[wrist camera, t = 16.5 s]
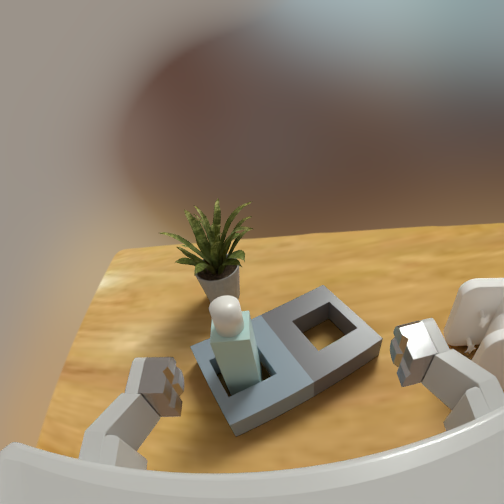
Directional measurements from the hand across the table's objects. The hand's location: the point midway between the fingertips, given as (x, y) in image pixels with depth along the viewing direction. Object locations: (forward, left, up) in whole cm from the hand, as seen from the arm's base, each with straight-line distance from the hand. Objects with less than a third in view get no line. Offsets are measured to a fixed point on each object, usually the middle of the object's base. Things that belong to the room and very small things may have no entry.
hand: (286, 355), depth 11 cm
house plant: (-7, -32, -26) cm, 42 cm away
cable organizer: (-30, +3, -26) cm, 39 cm away
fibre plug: (-2, -16, -26) cm, 30 cm away
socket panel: (-8, -16, -26) cm, 31 cm away
